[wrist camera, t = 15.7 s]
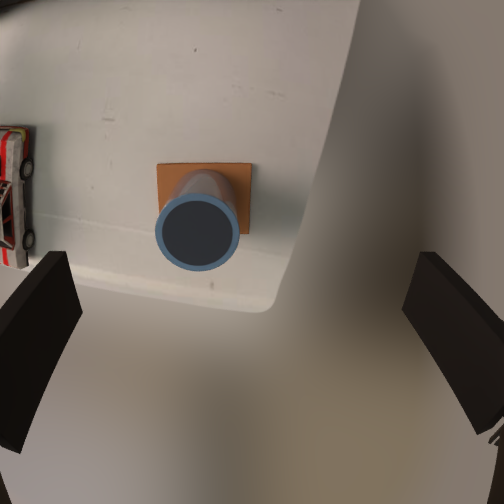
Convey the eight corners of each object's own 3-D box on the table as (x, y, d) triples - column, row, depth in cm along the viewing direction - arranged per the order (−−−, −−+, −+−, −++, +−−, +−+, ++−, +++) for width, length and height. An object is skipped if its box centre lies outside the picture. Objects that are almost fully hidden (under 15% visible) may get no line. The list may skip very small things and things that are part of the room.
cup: (236, 168, 32) (241, 193, 24) (235, 230, 35) (238, 272, 27) (170, 169, 32) (151, 194, 24) (173, 230, 35) (158, 271, 27)
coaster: (251, 163, 33) (251, 164, 32) (248, 232, 36) (248, 234, 36) (157, 163, 32) (156, 164, 31) (161, 232, 35) (160, 234, 35)
